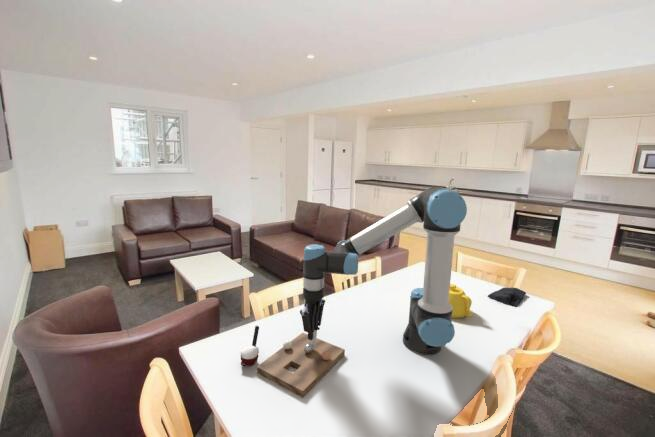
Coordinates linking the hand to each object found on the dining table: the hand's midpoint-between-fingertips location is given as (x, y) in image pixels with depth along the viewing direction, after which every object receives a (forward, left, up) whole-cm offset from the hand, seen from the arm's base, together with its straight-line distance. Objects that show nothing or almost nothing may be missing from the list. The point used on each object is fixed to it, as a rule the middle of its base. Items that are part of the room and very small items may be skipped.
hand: (312, 345), depth 118 cm
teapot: (-35, -69, -4) cm, 77 cm away
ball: (0, +3, 0) cm, 3 cm away
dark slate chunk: (-59, -105, -5) cm, 120 cm away
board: (0, +6, -4) cm, 7 cm away
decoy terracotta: (-8, +2, 0) cm, 8 cm away
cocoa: (+16, +16, -4) cm, 23 cm away
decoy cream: (+8, +5, 0) cm, 9 cm away
